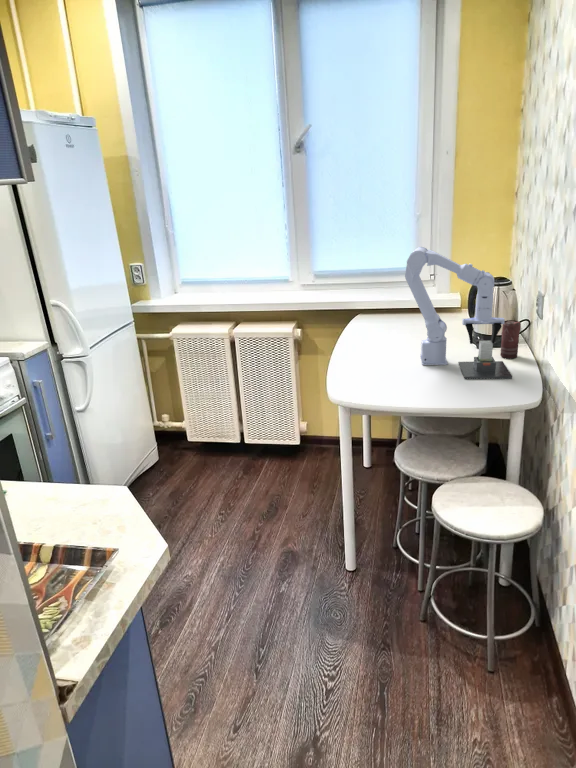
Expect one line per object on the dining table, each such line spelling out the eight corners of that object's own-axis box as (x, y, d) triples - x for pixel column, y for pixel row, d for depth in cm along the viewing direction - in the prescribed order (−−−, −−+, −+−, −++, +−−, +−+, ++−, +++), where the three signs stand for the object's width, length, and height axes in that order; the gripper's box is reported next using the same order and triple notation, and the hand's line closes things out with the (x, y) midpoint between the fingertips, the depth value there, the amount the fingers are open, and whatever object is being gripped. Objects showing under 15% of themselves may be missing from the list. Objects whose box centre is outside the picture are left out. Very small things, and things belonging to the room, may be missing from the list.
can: (519, 359, 214) (522, 323, 209) (501, 359, 215) (504, 323, 210) (516, 354, 219) (519, 319, 214) (499, 354, 221) (501, 319, 216)
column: (479, 364, 202) (480, 344, 199) (477, 360, 206) (478, 340, 203) (491, 364, 201) (493, 343, 198) (489, 360, 205) (491, 340, 202)
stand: (464, 379, 198) (465, 367, 197) (458, 364, 213) (458, 353, 212) (511, 379, 196) (513, 366, 194) (502, 363, 211) (503, 352, 209)
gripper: (464, 310, 201) (463, 346, 206) (507, 309, 199) (504, 345, 204) (462, 305, 208) (460, 340, 213) (503, 304, 205) (500, 340, 210)
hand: (481, 342), depth 209 cm, fingers open, 7 cm apart
